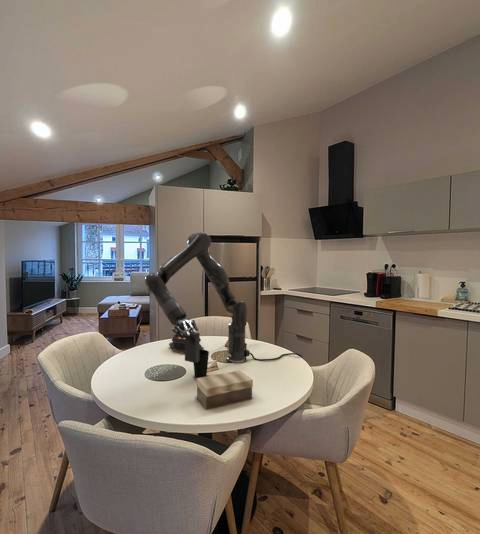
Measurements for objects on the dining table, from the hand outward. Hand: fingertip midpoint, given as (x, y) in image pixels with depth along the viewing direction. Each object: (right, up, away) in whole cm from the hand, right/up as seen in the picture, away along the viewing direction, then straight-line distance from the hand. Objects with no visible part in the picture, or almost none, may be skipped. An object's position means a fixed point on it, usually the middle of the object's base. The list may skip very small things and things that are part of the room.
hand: (196, 342), depth 131 cm
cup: (0, -21, +17) cm, 27 cm away
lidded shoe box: (+12, -22, -4) cm, 25 cm away
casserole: (-12, -18, +59) cm, 63 cm away
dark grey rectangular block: (-2, -8, +1) cm, 8 cm away
